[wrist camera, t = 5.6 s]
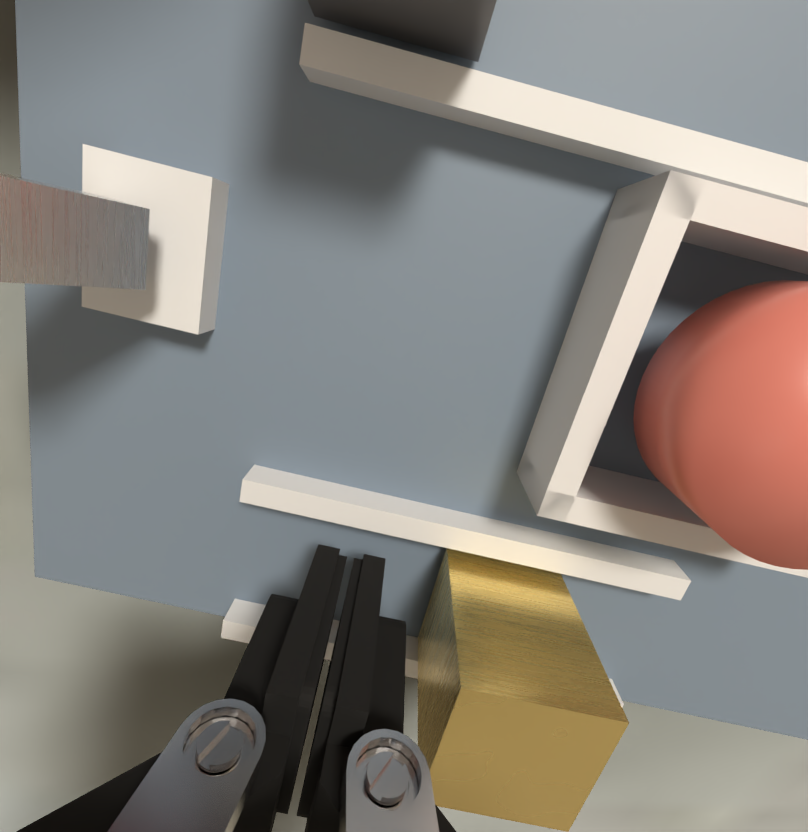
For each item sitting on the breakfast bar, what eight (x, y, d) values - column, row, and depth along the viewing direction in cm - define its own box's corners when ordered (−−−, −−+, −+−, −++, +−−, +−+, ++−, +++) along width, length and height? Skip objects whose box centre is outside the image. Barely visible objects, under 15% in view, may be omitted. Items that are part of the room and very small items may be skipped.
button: (802, 527, 9) (900, 594, 7) (598, 478, 9) (646, 535, 7) (933, 314, 8) (1096, 331, 6) (695, 252, 8) (787, 248, 6)
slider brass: (522, 659, 13) (568, 831, 9) (417, 637, 12) (417, 801, 9) (560, 572, 12) (628, 723, 8) (446, 547, 11) (460, 688, 8)
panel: (776, 674, 16) (906, 823, 12) (95, 526, 15) (-34, 632, 11) (1172, 90, 10) (1707, -30, 6) (110, -226, 9) (-162, -656, 5)
